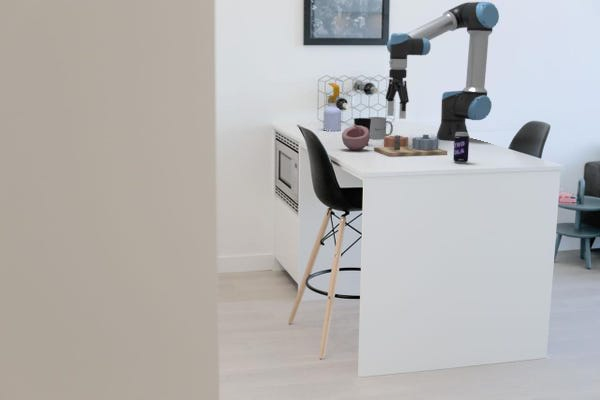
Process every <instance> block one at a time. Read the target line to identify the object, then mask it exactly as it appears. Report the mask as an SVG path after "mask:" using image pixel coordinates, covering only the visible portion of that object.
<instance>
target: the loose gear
mask: <svg viewBox="0 0 600 400" xmlns="http://www.w3.org/2000/svg"><path fill="white" fill-rule="evenodd" d="M399 136H400V147H408V146H409V137H408V136H403V135H399ZM394 144H395V135H389V136H385V137H384V139H383V147H394Z"/></svg>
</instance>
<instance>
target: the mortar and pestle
mask: <svg viewBox="0 0 600 400" xmlns="http://www.w3.org/2000/svg"><path fill="white" fill-rule="evenodd" d="M341 139H342V143H343V144H344V146H345V148H347V149H349V150H351V151H361V150H363V149H365V148H366V147H367V146H366V145H367V144H368V145H369V142H370V140H371V139H370V134H369V130H368V129H367V128H366V127H363V126H357V125H354V124H353V125H352V126H348V127H347V128H346V129H344V130H343V132H342V133H341Z"/></svg>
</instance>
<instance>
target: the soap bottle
mask: <svg viewBox="0 0 600 400" xmlns="http://www.w3.org/2000/svg"><path fill="white" fill-rule="evenodd" d="M328 85H329V86H331V87H332V90H333V93H332V94H333V95H329V96H327V98H329V99H330V101H329V103H328V105H329V106H328V107H326V108H324V111H323V130H324V129H326V130H330V131H329V132H341V130H342V111H341V109H340V108H339V107H337V105H336V104H337V102H336V101H335V99H336V98H339V97H340V86H339V85H338V84H336V83H334V82H329V83H328Z"/></svg>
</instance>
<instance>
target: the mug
mask: <svg viewBox="0 0 600 400" xmlns="http://www.w3.org/2000/svg"><path fill="white" fill-rule="evenodd" d="M368 118H370V119H371V124H370V132H369V134H370V139H369V140H384V137H385V136H386V137H388V136H392V134H393V130H394V126H393V123H392V122H391V121H390V120H387V117H383V116H370V117H369V116H368ZM388 123H389V125H390V131H389V132H388V133H387V124H388Z"/></svg>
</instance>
